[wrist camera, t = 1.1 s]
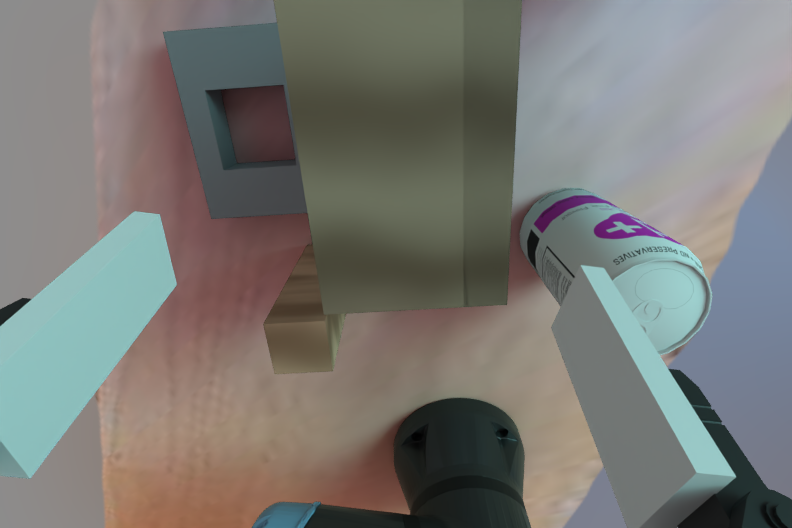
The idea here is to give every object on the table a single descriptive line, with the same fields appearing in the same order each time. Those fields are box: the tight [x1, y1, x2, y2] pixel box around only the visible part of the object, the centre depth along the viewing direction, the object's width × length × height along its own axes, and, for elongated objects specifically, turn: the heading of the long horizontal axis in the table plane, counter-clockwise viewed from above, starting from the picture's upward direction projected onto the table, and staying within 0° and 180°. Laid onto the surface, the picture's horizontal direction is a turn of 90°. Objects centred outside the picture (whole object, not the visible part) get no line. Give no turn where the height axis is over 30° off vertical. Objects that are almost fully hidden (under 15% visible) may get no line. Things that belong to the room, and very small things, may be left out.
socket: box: [163, 23, 308, 219], centre depth 34 cm, size 14×14×3 cm
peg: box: [263, 244, 346, 374], centre depth 34 cm, size 4×4×14 cm
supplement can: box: [520, 188, 712, 355], centre depth 32 cm, size 8×8×15 cm
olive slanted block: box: [274, 0, 522, 315], centre depth 25 cm, size 16×8×20 cm, turn 4°
